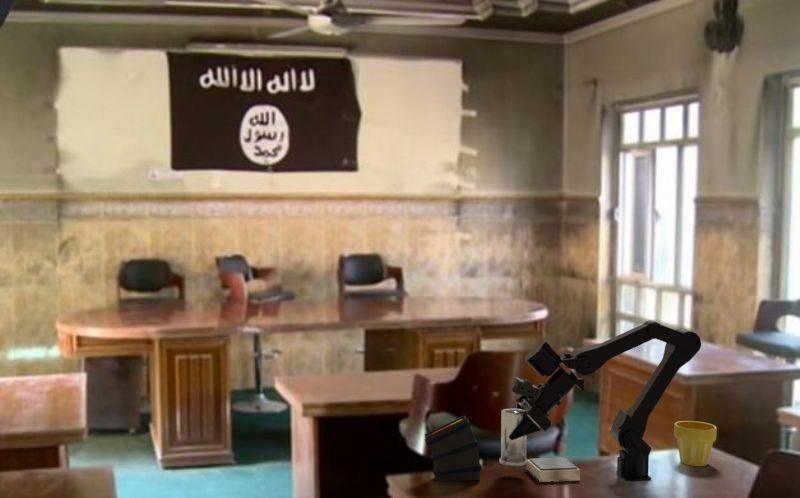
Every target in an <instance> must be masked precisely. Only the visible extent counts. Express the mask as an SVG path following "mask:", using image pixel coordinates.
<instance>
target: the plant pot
mask: <svg viewBox="0 0 800 498" xmlns="http://www.w3.org/2000/svg"><path fill="white" fill-rule="evenodd" d="M717 430H718V429H717V426H716V425H714V424H712V423H708V422H705V421H695V420H694V421H693V420H681V421H680V420H679V421H676V422H674V427H673V436H674V437H675V439H676V442H677V443H676V444H677V448H678V455H679V460H680V462H681V463H682V464H684V465H687V466H693V467H705V466H707V465H708V463H709V460H710V456H711V452H712V448H713V444H714V442H716V441H717V434H718V433H717Z"/></svg>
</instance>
